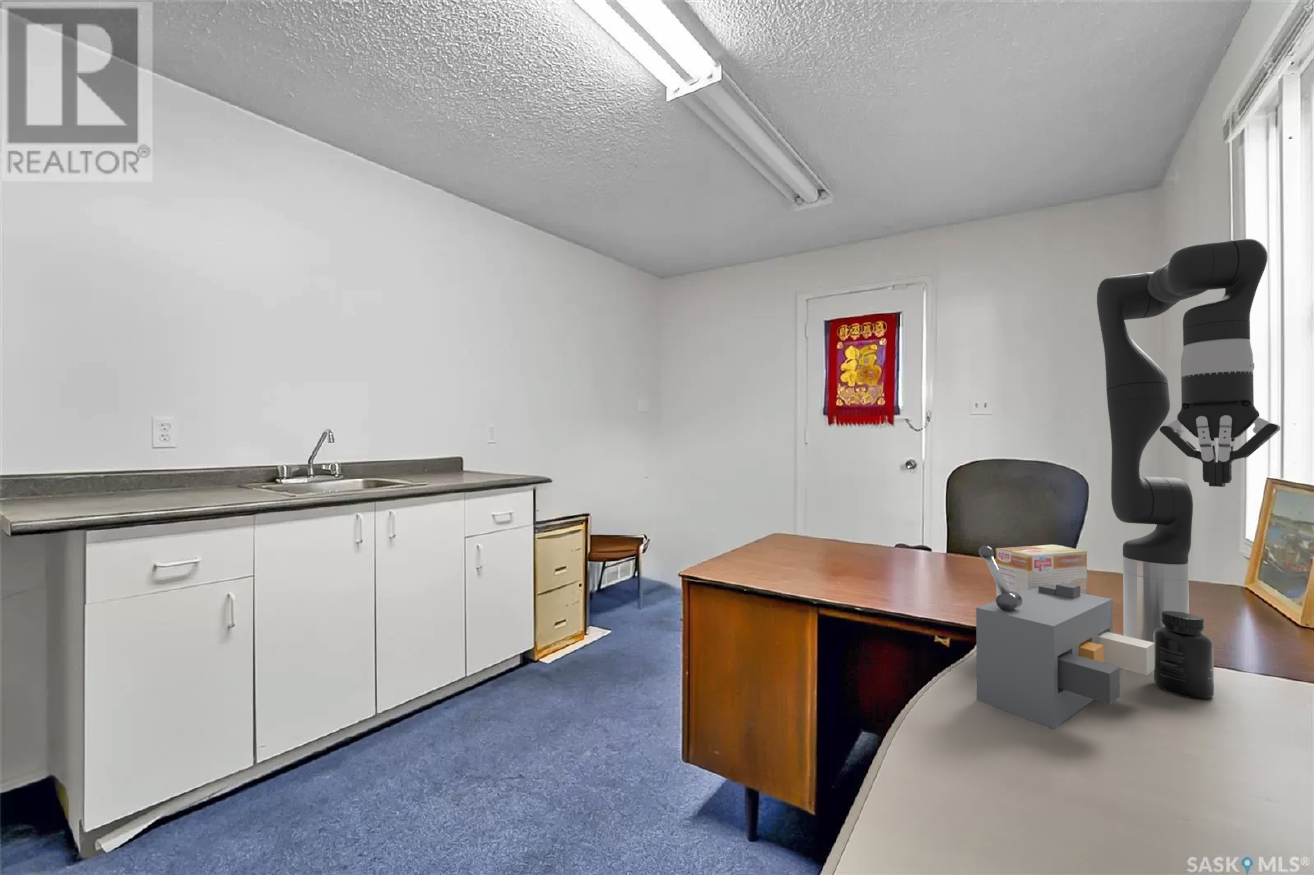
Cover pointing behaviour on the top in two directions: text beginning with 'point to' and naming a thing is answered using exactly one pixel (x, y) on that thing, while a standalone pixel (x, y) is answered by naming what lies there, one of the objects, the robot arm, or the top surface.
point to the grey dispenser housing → (1036, 650)
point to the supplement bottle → (1183, 656)
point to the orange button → (1091, 651)
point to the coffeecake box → (1041, 567)
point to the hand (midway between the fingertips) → (1217, 486)
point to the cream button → (1128, 652)
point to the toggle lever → (1000, 582)
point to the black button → (1089, 677)
